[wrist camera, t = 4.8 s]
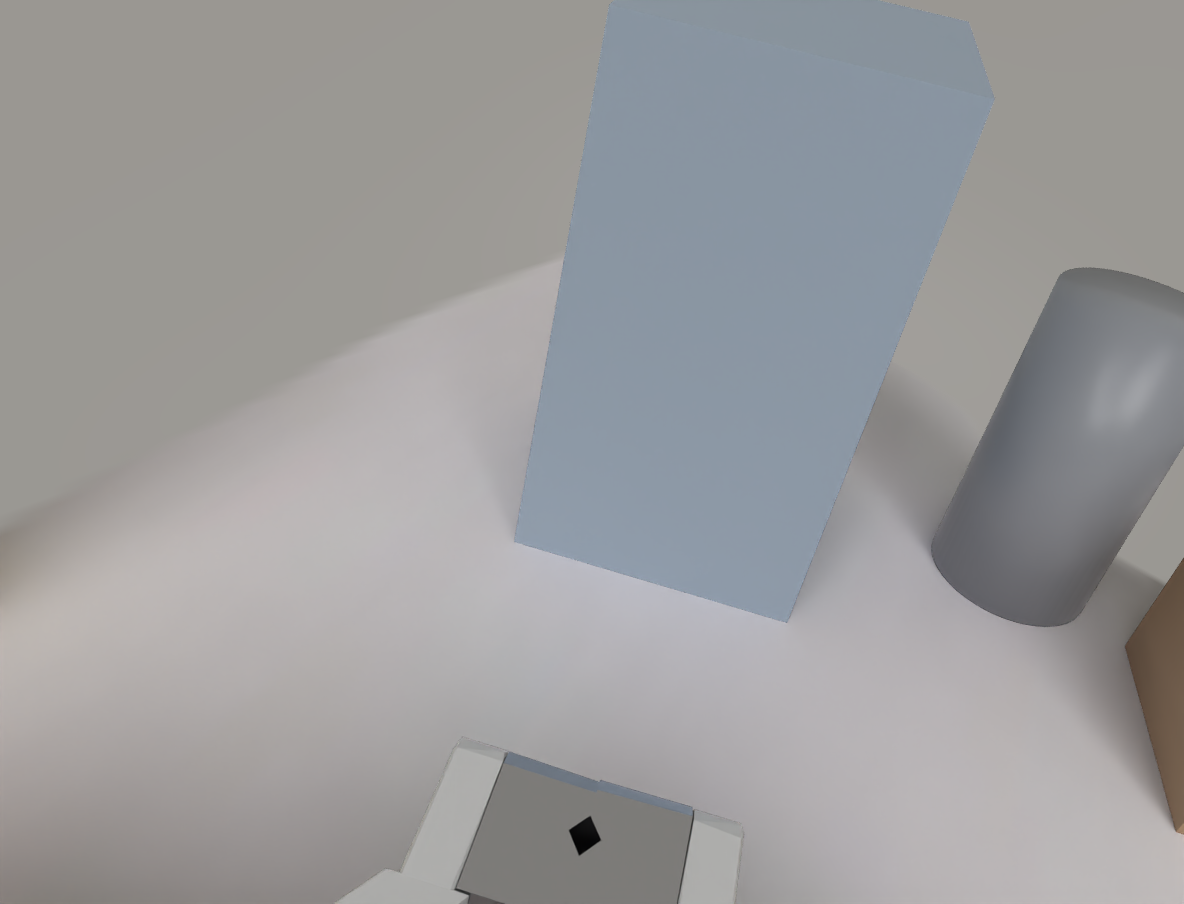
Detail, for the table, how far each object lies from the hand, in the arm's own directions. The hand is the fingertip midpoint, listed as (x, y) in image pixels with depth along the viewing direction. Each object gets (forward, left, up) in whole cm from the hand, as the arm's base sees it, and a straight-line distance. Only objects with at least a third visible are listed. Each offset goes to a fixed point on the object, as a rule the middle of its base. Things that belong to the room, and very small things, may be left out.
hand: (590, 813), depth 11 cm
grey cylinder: (-8, -14, -5) cm, 17 cm away
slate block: (0, -13, -5) cm, 14 cm away
